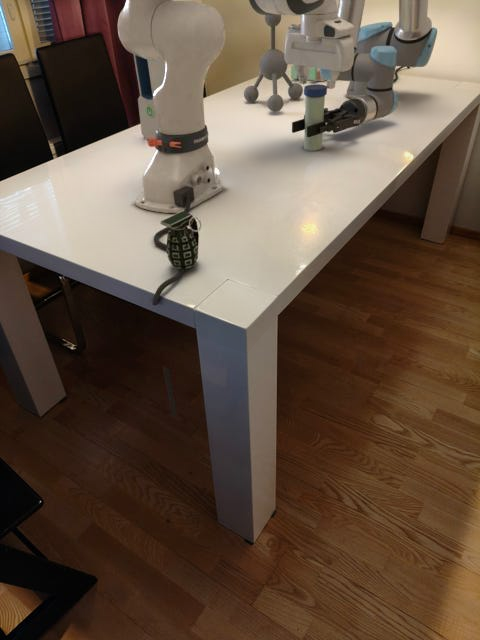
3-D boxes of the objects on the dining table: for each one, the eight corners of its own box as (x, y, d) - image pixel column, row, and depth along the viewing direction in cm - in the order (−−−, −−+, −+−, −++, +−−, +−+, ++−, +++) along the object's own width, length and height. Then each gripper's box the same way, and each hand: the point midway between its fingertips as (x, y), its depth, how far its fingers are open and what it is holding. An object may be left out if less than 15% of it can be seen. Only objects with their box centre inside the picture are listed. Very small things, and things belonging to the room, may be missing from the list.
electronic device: (141, 137, 154) (123, 28, 136) (159, 131, 158) (144, 24, 140) (166, 145, 147) (151, 30, 129) (185, 138, 151) (172, 26, 133)
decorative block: (312, 52, 220) (353, 55, 210) (311, 68, 224) (351, 71, 214) (282, 63, 204) (325, 66, 194) (282, 79, 208) (324, 84, 198)
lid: (303, 91, 133) (304, 84, 132) (326, 91, 133) (326, 83, 132) (304, 97, 129) (304, 90, 128) (327, 96, 128) (327, 89, 127)
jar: (303, 145, 142) (305, 86, 132) (321, 144, 141) (324, 86, 132) (304, 150, 138) (306, 91, 128) (322, 150, 137) (325, 90, 128)
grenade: (182, 278, 88) (175, 228, 82) (162, 268, 91) (153, 219, 85) (208, 263, 92) (203, 214, 85) (187, 253, 95) (181, 205, 89)
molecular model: (322, 103, 175) (328, 5, 157) (274, 116, 166) (273, 12, 147) (282, 92, 191) (282, 1, 172) (235, 103, 181) (230, 8, 163)
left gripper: (279, 25, 125) (279, 83, 134) (344, 30, 113) (339, 94, 122) (295, 21, 129) (294, 78, 137) (359, 26, 117) (354, 88, 125)
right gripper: (379, 131, 141) (323, 151, 130) (333, 119, 152) (277, 136, 141) (383, 103, 136) (325, 122, 125) (334, 93, 148) (277, 109, 137)
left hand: (316, 85), depth 130 cm, fingers open, 8 cm apart
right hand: (300, 129), depth 133 cm, fingers closed on jar, 5 cm apart
